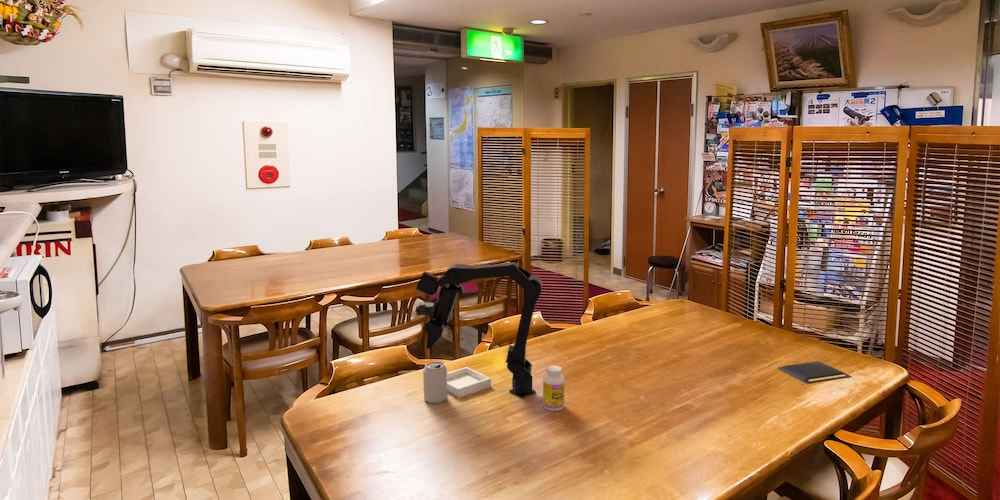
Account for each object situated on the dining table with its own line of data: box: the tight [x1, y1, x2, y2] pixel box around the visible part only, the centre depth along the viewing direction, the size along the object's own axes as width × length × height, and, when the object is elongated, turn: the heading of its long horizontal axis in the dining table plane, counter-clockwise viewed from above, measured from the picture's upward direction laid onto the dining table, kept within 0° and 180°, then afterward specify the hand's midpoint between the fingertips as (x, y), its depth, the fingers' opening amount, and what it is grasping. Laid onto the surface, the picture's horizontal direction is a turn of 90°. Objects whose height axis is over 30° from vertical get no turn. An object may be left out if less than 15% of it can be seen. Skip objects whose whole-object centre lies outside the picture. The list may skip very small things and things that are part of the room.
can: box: [422, 360, 448, 404], centre depth 197 cm, size 8×8×12 cm
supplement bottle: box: [542, 365, 566, 412], centre depth 192 cm, size 7×7×13 cm
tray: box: [447, 366, 492, 399], centre depth 209 cm, size 14×14×3 cm
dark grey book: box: [777, 360, 853, 385], centre depth 219 cm, size 20×2×15 cm
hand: (430, 343), depth 203 cm, fingers open, 9 cm apart
